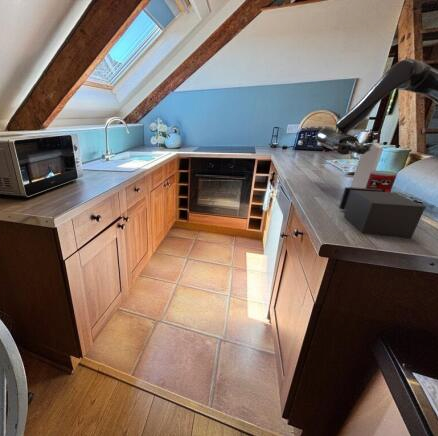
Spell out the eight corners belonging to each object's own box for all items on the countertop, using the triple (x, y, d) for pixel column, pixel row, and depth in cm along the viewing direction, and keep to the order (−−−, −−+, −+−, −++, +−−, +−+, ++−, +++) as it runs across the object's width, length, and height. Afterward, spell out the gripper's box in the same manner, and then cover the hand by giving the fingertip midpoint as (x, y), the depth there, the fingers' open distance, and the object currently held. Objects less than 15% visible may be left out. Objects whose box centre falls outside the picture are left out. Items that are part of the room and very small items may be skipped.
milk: (350, 187, 118) (364, 139, 110) (354, 185, 122) (369, 139, 113) (365, 189, 114) (382, 140, 105) (370, 187, 117) (386, 139, 109)
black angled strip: (334, 204, 93) (340, 184, 90) (367, 206, 90) (374, 186, 87) (353, 220, 79) (360, 197, 76) (393, 224, 76) (402, 200, 73)
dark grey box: (343, 216, 84) (352, 190, 80) (385, 220, 80) (396, 192, 77) (361, 233, 72) (372, 202, 68) (411, 238, 68) (425, 206, 65)
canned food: (358, 197, 104) (366, 171, 100) (370, 194, 106) (378, 169, 102) (379, 202, 97) (389, 175, 93) (391, 199, 100) (401, 173, 95)
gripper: (327, 134, 102) (344, 140, 87) (364, 134, 98) (389, 140, 83) (322, 152, 105) (338, 161, 90) (358, 153, 101) (381, 162, 86)
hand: (363, 151), depth 87 cm, fingers closed
